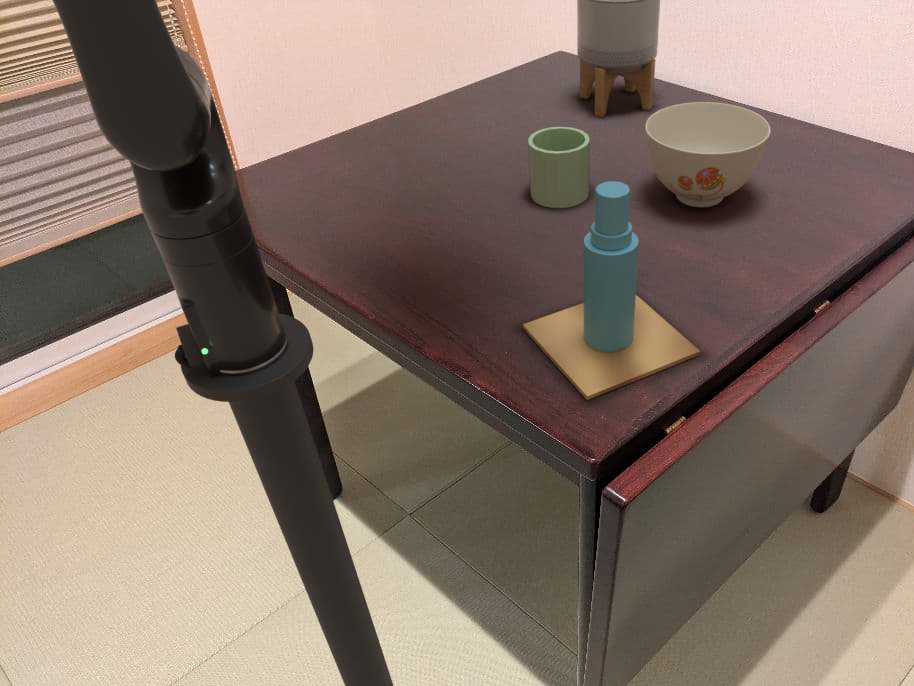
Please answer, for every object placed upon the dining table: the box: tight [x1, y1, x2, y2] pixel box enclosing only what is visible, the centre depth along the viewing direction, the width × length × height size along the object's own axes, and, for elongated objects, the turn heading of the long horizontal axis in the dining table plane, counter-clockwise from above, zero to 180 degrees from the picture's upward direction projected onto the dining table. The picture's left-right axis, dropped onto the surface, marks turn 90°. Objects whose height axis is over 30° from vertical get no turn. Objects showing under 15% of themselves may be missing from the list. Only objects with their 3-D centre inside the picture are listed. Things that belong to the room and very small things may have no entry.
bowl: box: [644, 101, 772, 208], centre depth 106 cm, size 16×16×10 cm
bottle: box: [583, 180, 640, 352], centre depth 80 cm, size 5×5×18 cm
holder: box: [527, 126, 591, 209], centre depth 109 cm, size 8×8×8 cm
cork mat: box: [522, 294, 701, 401], centre depth 86 cm, size 14×14×1 cm
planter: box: [576, 0, 661, 118], centre depth 128 cm, size 13×13×18 cm
